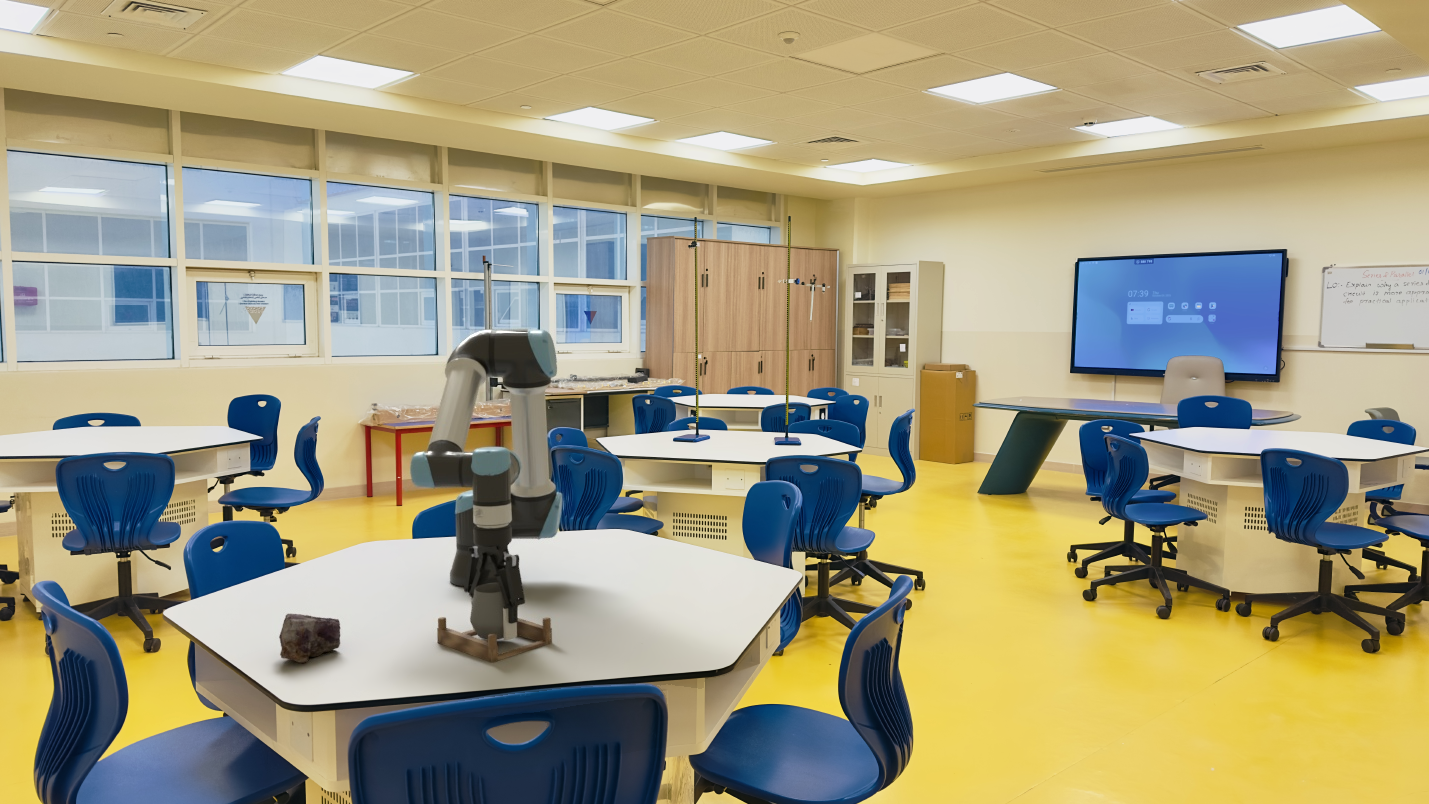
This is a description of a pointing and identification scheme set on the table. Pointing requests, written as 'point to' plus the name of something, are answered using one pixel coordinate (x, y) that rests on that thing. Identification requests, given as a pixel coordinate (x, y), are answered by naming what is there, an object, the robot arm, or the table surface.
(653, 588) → the table surface
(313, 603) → the table surface
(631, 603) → the table surface
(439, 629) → the frame
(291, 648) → the rock
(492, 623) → the cup
